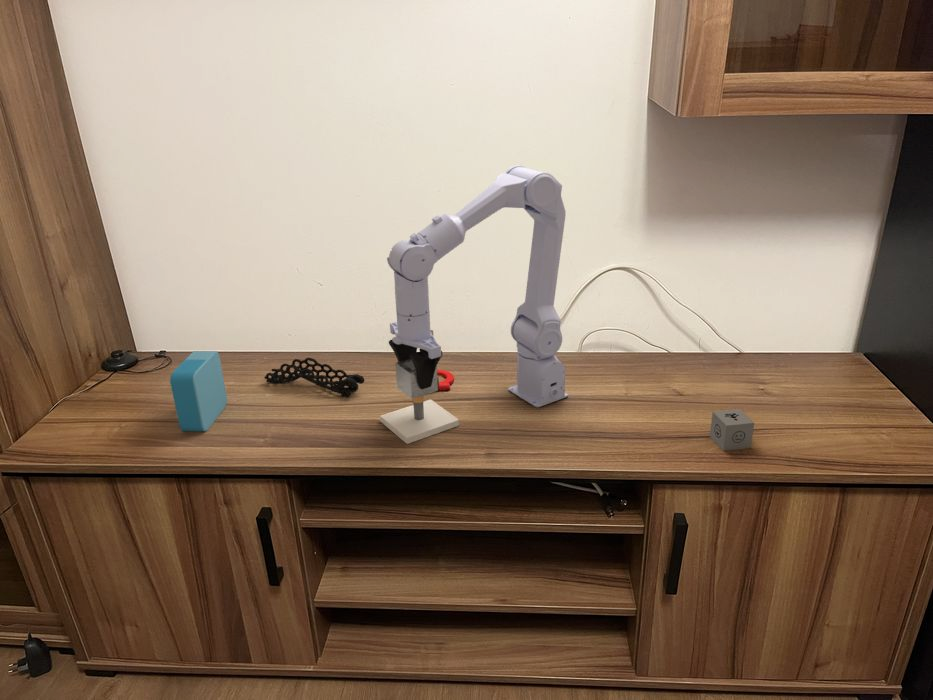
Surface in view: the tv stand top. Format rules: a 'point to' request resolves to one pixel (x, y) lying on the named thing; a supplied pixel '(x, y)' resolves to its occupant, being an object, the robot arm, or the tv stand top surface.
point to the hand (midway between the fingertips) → (417, 381)
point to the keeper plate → (419, 420)
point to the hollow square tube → (412, 380)
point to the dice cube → (731, 429)
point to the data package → (198, 390)
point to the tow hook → (449, 377)
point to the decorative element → (317, 377)
